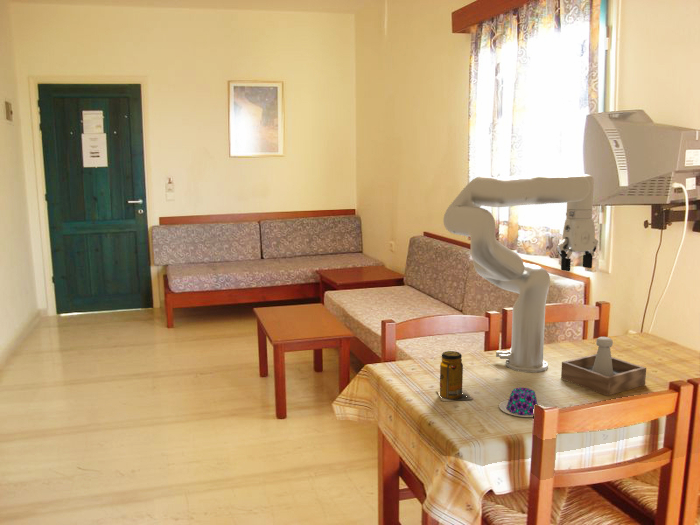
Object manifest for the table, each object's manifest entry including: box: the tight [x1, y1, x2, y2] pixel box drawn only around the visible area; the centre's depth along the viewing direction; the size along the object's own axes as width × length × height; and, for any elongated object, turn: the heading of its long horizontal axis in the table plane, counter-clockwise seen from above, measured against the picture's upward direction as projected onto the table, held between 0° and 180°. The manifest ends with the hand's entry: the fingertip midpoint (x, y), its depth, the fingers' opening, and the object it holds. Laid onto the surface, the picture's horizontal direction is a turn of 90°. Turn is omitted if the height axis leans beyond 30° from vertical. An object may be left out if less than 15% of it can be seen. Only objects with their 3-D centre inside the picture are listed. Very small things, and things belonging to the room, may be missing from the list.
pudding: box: [498, 387, 546, 418], centre depth 172 cm, size 12×12×5 cm
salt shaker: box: [592, 336, 614, 376], centre depth 190 cm, size 6×6×13 cm
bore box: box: [560, 353, 647, 397], centre depth 191 cm, size 16×16×5 cm
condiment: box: [439, 350, 474, 402], centre depth 180 cm, size 7×8×12 cm
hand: (576, 269), depth 210 cm, fingers open, 9 cm apart
